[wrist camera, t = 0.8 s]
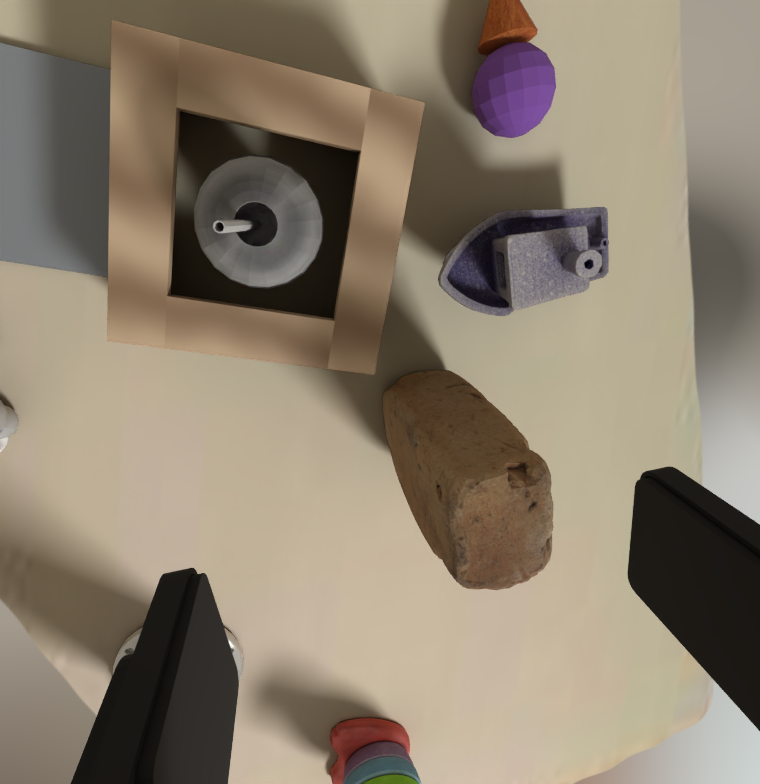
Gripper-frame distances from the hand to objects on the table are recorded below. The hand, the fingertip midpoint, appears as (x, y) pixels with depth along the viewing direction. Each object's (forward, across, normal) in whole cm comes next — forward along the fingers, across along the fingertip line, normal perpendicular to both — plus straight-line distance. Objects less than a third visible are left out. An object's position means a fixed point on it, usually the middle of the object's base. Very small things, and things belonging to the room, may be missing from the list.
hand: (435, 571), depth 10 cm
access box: (+34, +4, -7) cm, 34 cm away
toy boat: (+34, -16, -2) cm, 37 cm away
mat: (+33, +20, -13) cm, 41 cm away
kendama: (+34, -16, -21) cm, 43 cm away
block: (+33, -7, +12) cm, 36 cm away
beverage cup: (+34, +4, -7) cm, 35 cm away
